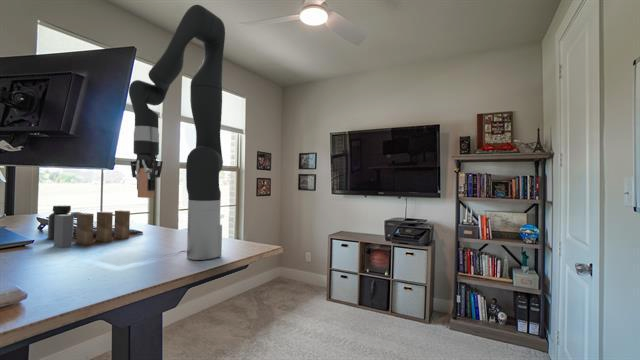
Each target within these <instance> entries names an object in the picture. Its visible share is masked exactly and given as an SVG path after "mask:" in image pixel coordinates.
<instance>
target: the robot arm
mask: <svg viewBox="0 0 640 360" xmlns="http://www.w3.org/2000/svg"><path fill="white" fill-rule="evenodd" d="M194 39H195V40H196V41H199V42H201V43H202V44H203V59H202V63H201V65H200V66H199V68H198V69H197V70H196V71H195V73H194V75H192V77H191V81H190V86H189V87H190V88H189V90H190V91H189V92H190V93H189V94H190V96H189V97H190V98H189V99H190V109H191V114H192V119H193V123H194V127H195V135H196V137H195V138H196V139H195V147H194V148H193V149H192V150H191V151H190V152H189V153H188V155H187V158H186V166H185V169H186V170H185V171H186V172H185V173H186V174H185V177H186V178H185V181H186V182H185V183H186V185H185V187H186V191H187V196H188V197H187V236H186V237H187V238H186V239H187V240H186V244H187V245H186V258H187V259H189V260H194V261H195V260H196V261H199V260H201V261H203V260H211V259H216V258H218V257H222V255H223V254H222V250H223V249H222V246H223V245H222V244H223V243H222V242H223V225H222V224H221V204H222V203H221V201H222V200H221V199H222V198H221V197H222V196H221V188H220V173H221V170H222V169H223V167H224V166H223V164H224V160H223V159H224V158H223V151H222V142H221V141H222V140H221V127H222V113H223V111H222V110H223V81H222V80H223V61H224V60H223V59H224V51H225V50H224V49H225V40H226V28H225V24H224V22H223V20H222V19H221V18H220V17H218V16H217V15H216V14H214V13H213V12H212V11H210V10H208V9H207V8H206V7H204V6H202V5H200V4H194V5H192V6H191V7H189V8H188V9H187V10H186V12H185V13H184V15H183V16H182V18H181V20H180V22H179V24H178V26H177V27H176V29H175V31H174V33H173V35H172V37H171V39H170V41H169V43H168V45H167V47H165V50H164V51H163V54H162V55H161V56H160V57H159V58H158V60H157V61H156V62H155V64H154V65H153V66H152V67H151V69H150V70H149V71H148V78H149V79H150V81H151V82H152V83H150V82H147V81H144V80H141V79H136V80H134V81H131V82H130V85H129V87H128V95H129V99H130V103H131V106H132V110H133V114H134V130H133V154H134V155H136V159H135V160H130V169H131V170H130V171H131V177H132V178H134V179H135V180H136V190H137V191H138V174H139V171H140V168H144V170H145V173H147V177H148V179H149V180H148V191H154V192H155V190H156V180H157V179H158V178H159V179H160V178H161V174H162V169H163V163H164V162H163V160H162V159H161V160H159V159H157V157H156V156H158V155H159V154H160V133H159V114H158V112H156V111H154V110H153V109H151V108H150V107H149V105H150V106H159V105H161V104H162V103H163V102H164V100H165V98H166V96H167V94H168V91H169V88H170V86H171V84H172V83H174V81H175V80H176V79H177V77H178V76H179V75H180V74H181V72H182V70H183V67H184V61H185V60H184V59H185V52H186V51H185V50H186V48H187V47H188V44H189V43H190V42H191V41H192V40H194ZM148 168H152V170H149V169H148ZM151 173H152V174H151Z"/></svg>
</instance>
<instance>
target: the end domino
mask: <svg viewBox="0 0 640 360" xmlns="http://www.w3.org/2000/svg"><path fill="white" fill-rule="evenodd" d="M72 239H73V237H72V215H55V224H54V240H53V247H56V248H60V249H65V248H71V247H72Z"/></svg>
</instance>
